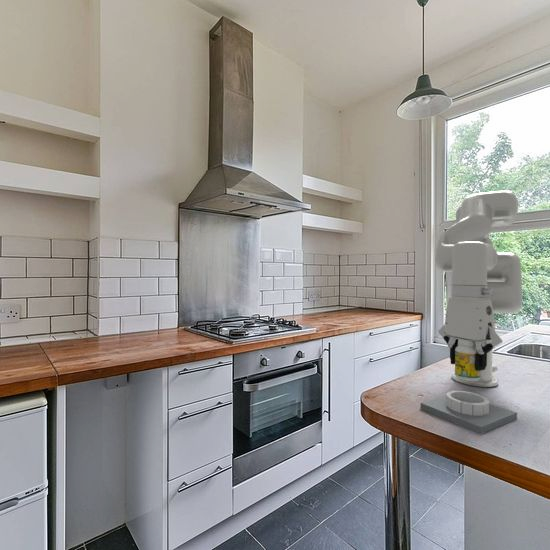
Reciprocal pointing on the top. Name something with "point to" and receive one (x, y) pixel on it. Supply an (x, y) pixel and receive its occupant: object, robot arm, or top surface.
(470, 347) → the supplement bottle
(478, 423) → the socket board
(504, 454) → the top surface
